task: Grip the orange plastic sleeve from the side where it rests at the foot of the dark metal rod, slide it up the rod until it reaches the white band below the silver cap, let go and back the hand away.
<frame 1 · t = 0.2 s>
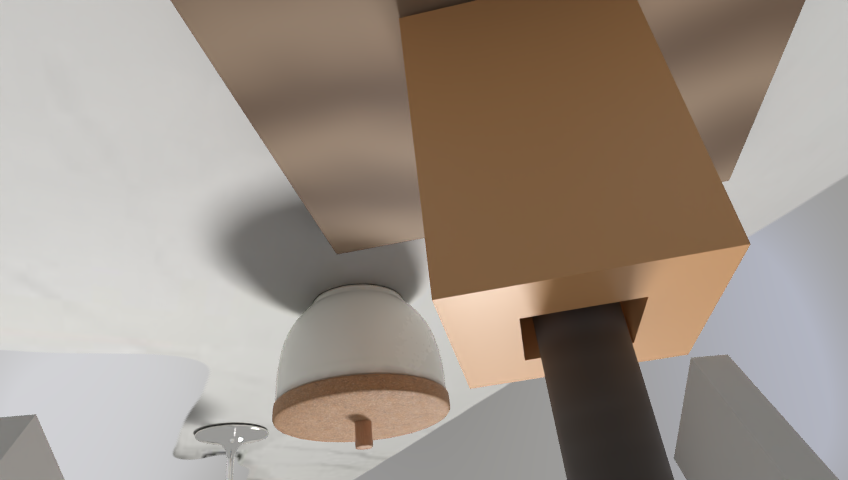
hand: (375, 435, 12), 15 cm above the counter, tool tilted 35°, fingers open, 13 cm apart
sleeve: (542, 185, 19), point 7 cm above the counter, slide at 0.0 cm
stand: (506, 44, 22), on the counter
lidded jar: (358, 302, 40), on the counter
wineglass: (232, 431, 63), on the counter
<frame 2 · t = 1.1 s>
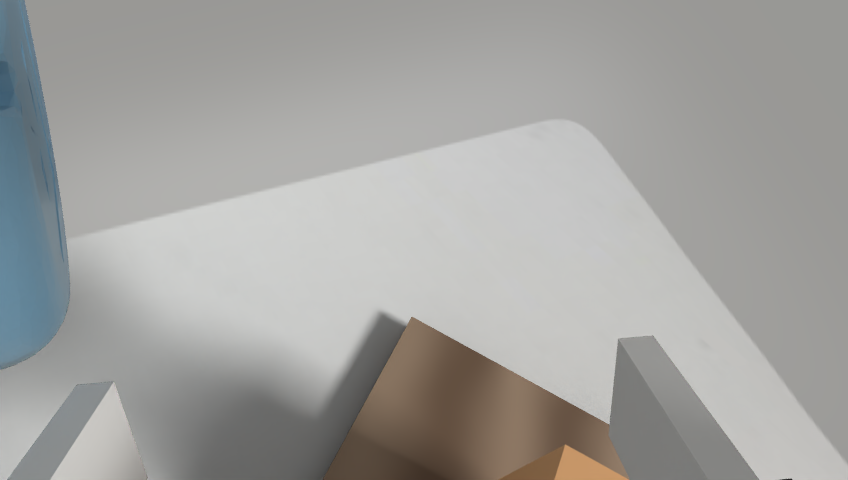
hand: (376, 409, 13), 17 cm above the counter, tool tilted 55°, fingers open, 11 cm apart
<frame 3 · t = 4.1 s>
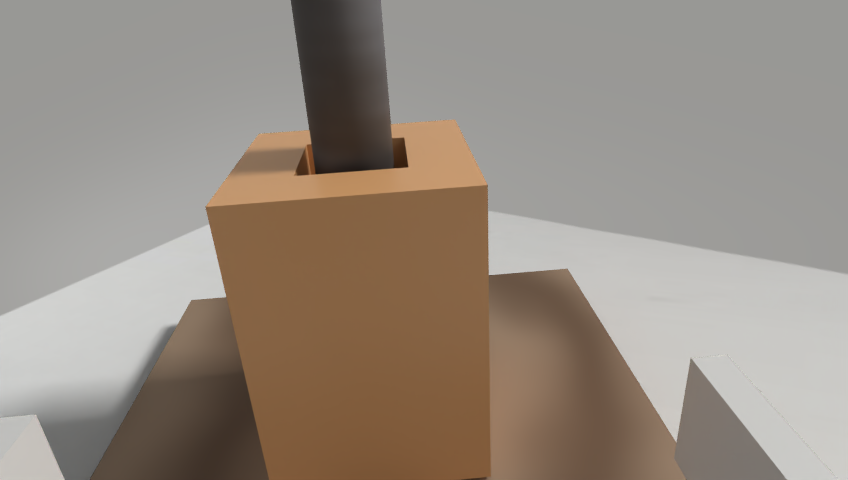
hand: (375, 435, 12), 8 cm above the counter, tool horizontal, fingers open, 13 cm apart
sleeve: (369, 297, 20), point 7 cm above the counter, slide at -0.1 cm
stand: (386, 444, 23), on the counter
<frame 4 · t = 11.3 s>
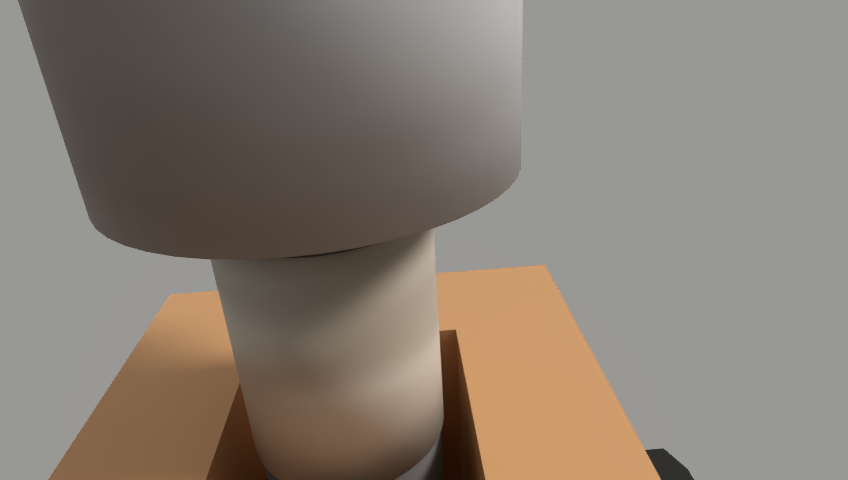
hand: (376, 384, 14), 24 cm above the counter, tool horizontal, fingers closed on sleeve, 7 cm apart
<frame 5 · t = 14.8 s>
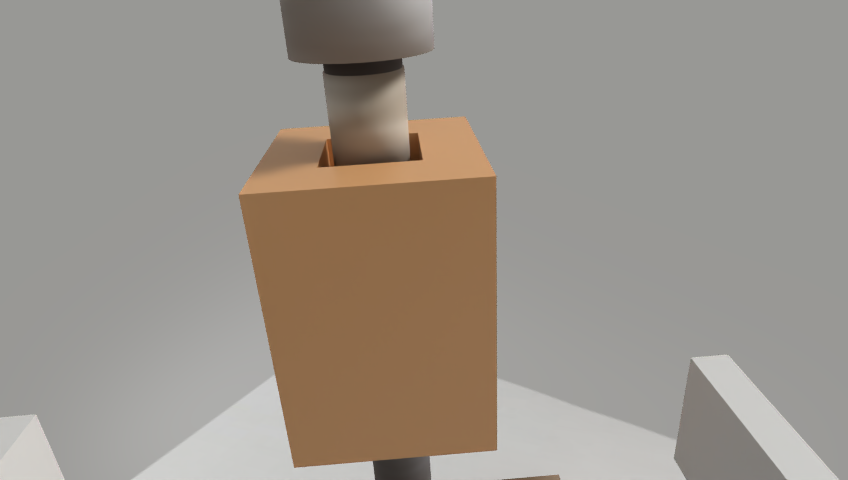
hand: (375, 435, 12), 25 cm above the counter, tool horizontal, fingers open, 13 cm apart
sleeve: (384, 282, 21), point 23 cm above the counter, slide at 16.3 cm
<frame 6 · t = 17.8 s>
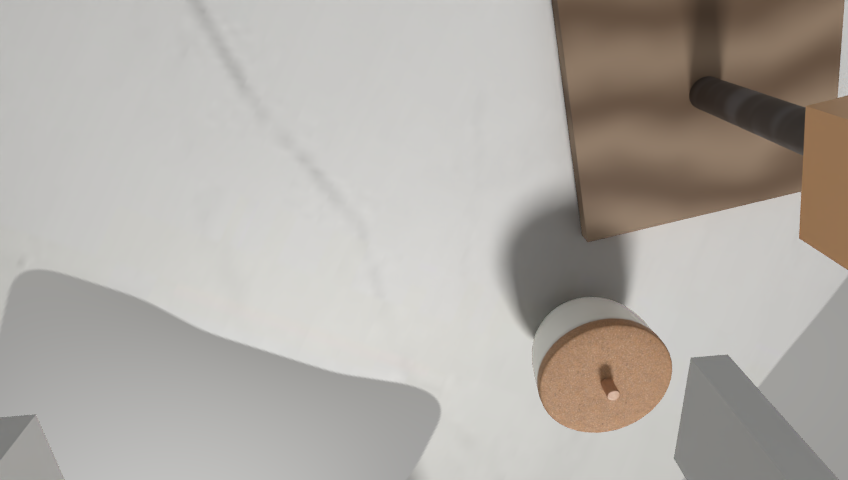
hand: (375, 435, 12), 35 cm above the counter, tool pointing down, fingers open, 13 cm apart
stand: (695, 89, 45), on the counter
lidded jar: (576, 326, 54), on the counter
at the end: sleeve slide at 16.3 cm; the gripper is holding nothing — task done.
